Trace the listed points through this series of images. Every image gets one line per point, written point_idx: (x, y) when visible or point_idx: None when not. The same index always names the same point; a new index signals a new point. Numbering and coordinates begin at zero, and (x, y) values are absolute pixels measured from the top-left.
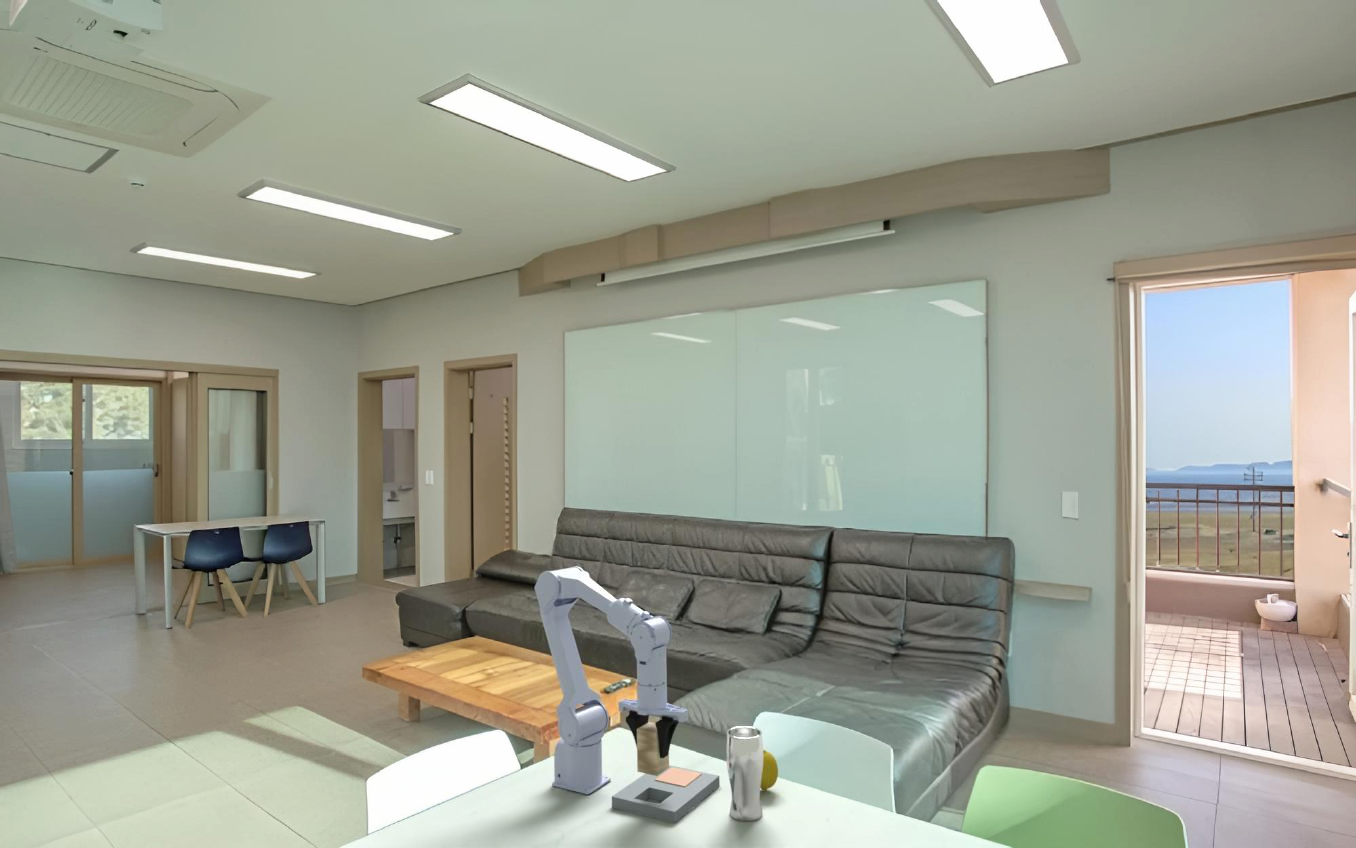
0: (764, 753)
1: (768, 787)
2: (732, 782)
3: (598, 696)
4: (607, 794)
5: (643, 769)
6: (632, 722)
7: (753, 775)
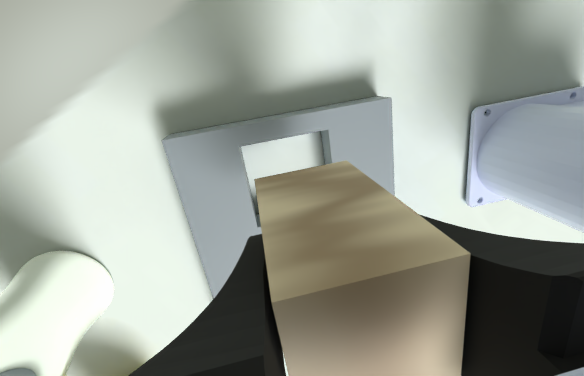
0: None
1: None
2: (1, 324)
3: None
4: (431, 146)
5: (322, 170)
6: (561, 266)
7: None
